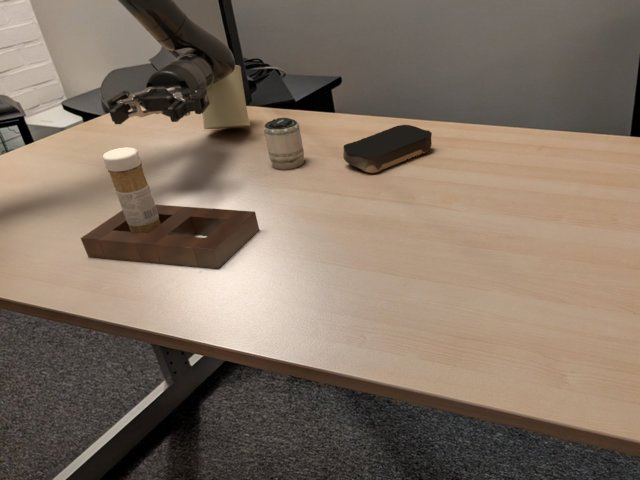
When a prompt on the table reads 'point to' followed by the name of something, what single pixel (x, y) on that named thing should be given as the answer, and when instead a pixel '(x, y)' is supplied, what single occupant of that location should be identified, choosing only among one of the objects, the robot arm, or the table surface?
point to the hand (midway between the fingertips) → (143, 116)
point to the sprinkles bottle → (132, 189)
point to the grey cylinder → (284, 143)
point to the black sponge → (387, 148)
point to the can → (227, 103)
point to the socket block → (175, 237)
